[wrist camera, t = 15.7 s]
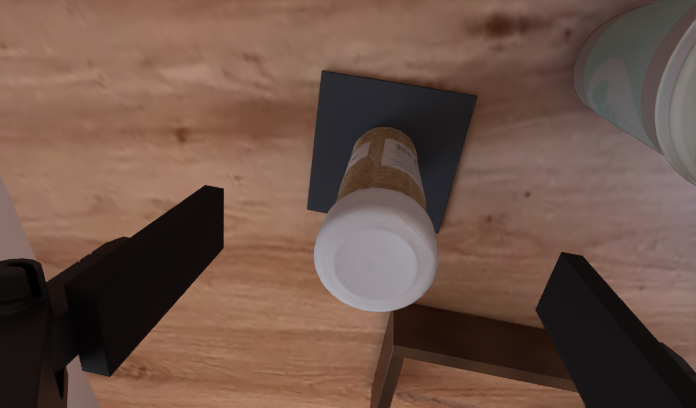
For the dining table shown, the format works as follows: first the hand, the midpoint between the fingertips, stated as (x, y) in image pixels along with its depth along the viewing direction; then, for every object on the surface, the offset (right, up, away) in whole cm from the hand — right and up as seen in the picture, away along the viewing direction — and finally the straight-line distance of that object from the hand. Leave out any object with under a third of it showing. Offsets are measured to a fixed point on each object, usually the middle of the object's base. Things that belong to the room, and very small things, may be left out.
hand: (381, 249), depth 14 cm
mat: (+1, +5, +11) cm, 12 cm away
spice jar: (+1, +5, +11) cm, 12 cm away
